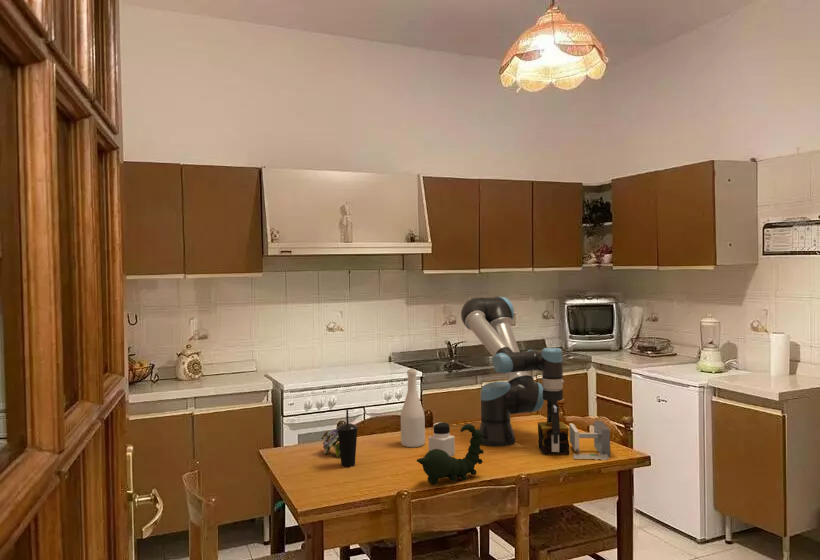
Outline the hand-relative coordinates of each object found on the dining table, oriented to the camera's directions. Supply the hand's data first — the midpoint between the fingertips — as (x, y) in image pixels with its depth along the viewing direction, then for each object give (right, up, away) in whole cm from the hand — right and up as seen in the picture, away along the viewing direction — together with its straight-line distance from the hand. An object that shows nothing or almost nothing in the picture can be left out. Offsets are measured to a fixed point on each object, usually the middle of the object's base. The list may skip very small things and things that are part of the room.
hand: (553, 447), depth 240 cm
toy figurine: (-41, -3, -31) cm, 52 cm away
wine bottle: (-53, -2, +12) cm, 54 cm away
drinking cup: (-76, -3, -13) cm, 78 cm away
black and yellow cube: (0, -2, 0) cm, 2 cm away
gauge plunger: (+13, +1, -3) cm, 13 cm away
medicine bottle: (-42, -2, -3) cm, 43 cm away
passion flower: (-82, -3, +1) cm, 82 cm away
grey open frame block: (+13, -1, -3) cm, 13 cm away
